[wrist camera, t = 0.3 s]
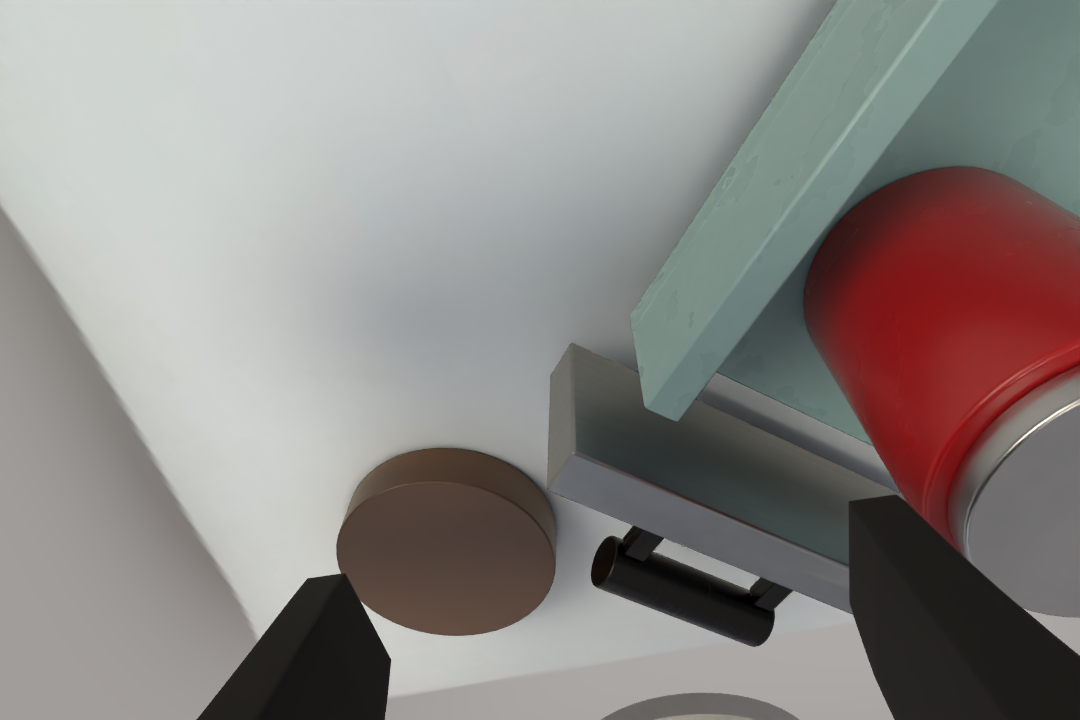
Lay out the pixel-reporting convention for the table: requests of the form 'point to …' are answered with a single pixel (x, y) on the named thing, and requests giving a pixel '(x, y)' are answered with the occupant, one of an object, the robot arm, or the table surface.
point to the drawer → (795, 300)
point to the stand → (448, 542)
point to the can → (966, 365)
